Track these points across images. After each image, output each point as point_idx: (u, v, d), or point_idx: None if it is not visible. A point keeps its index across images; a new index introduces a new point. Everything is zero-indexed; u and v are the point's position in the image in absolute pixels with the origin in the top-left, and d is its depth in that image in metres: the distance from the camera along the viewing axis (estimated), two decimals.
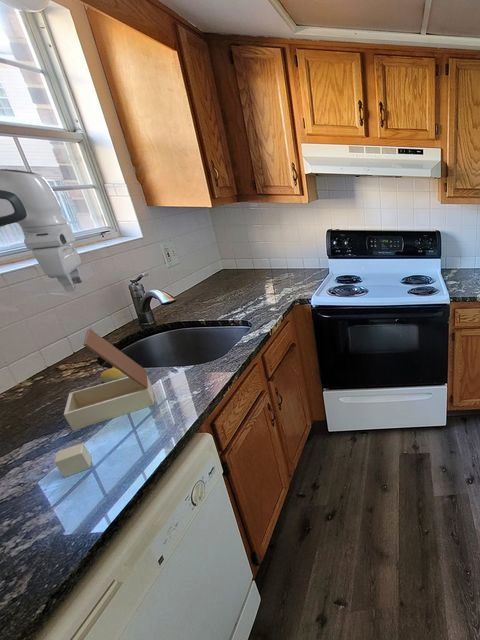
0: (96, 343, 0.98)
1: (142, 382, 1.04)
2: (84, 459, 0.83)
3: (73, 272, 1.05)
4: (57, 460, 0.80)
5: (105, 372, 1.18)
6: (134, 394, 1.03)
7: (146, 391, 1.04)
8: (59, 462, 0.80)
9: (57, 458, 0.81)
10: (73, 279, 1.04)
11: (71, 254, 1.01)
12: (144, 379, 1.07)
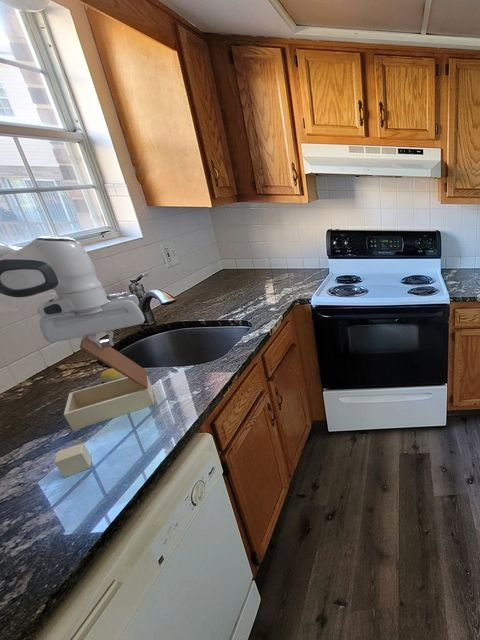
0: (93, 345, 0.98)
1: (142, 382, 1.04)
2: (84, 459, 0.83)
3: (109, 335, 1.01)
4: (57, 460, 0.80)
5: (105, 372, 1.18)
6: (134, 394, 1.03)
7: (146, 391, 1.04)
8: (59, 462, 0.80)
9: (57, 458, 0.81)
10: None
11: (106, 317, 0.98)
12: (144, 379, 1.07)
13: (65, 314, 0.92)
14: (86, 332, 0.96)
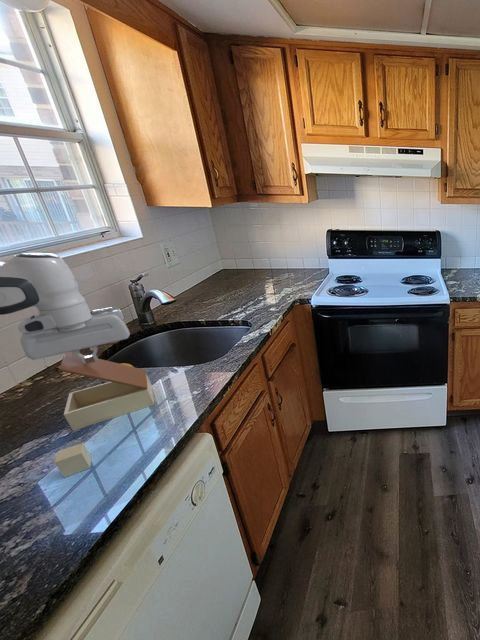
0: (75, 363, 0.97)
1: (139, 384, 1.04)
2: (84, 459, 0.83)
3: None
4: (57, 460, 0.80)
5: None
6: (134, 394, 1.03)
7: (146, 391, 1.04)
8: (59, 462, 0.80)
9: (57, 458, 0.81)
10: None
11: (89, 333, 0.97)
12: (142, 380, 1.07)
13: (47, 331, 0.91)
14: (69, 348, 0.95)
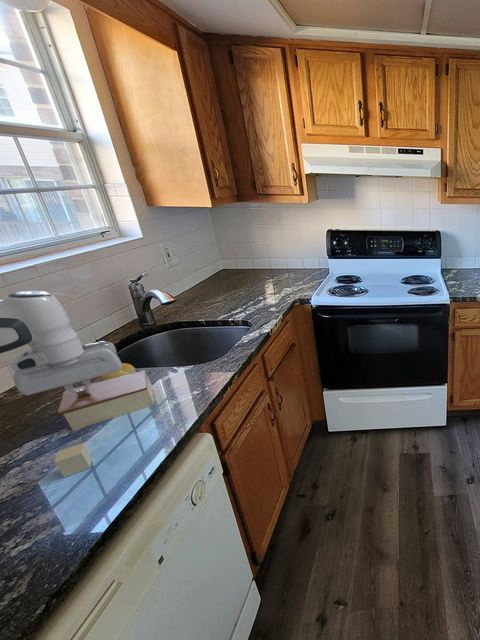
0: (73, 399, 0.99)
1: (138, 388, 1.04)
2: (84, 459, 0.83)
3: (86, 383, 1.01)
4: (57, 460, 0.80)
5: None
6: (134, 394, 1.03)
7: (146, 391, 1.04)
8: (59, 462, 0.80)
9: (57, 458, 0.81)
10: None
11: (82, 368, 0.98)
12: (141, 382, 1.07)
13: (39, 367, 0.92)
14: (61, 383, 0.96)
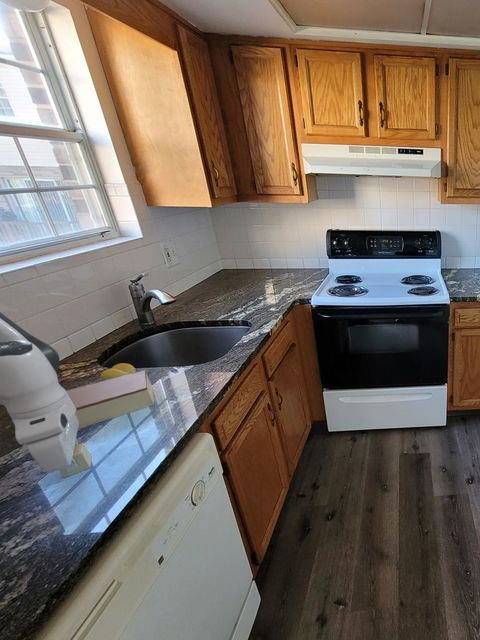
0: (73, 399, 0.99)
1: (138, 388, 1.04)
2: (84, 459, 0.83)
3: None
4: None
5: (105, 372, 1.18)
6: (134, 394, 1.03)
7: (146, 391, 1.04)
8: None
9: None
10: None
11: (69, 423, 0.83)
12: (141, 382, 1.07)
13: (65, 425, 0.77)
14: (73, 444, 0.81)
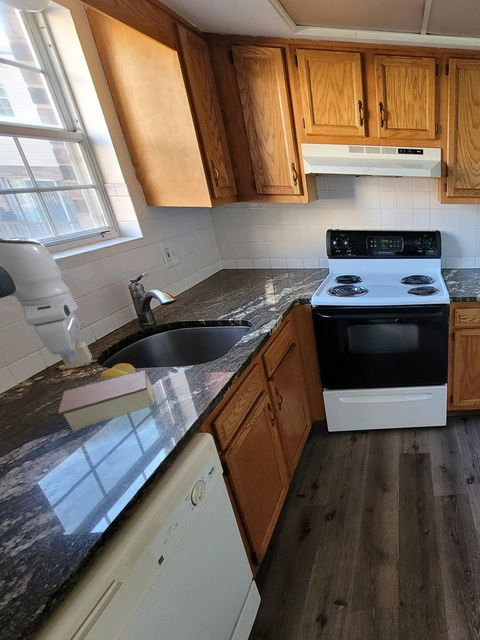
0: (73, 399, 0.99)
1: (138, 388, 1.04)
2: (85, 353, 0.93)
3: None
4: None
5: (105, 372, 1.18)
6: (134, 394, 1.03)
7: (146, 391, 1.04)
8: (63, 353, 0.90)
9: None
10: None
11: (72, 322, 0.93)
12: (141, 382, 1.07)
13: (68, 316, 0.87)
14: (75, 337, 0.91)
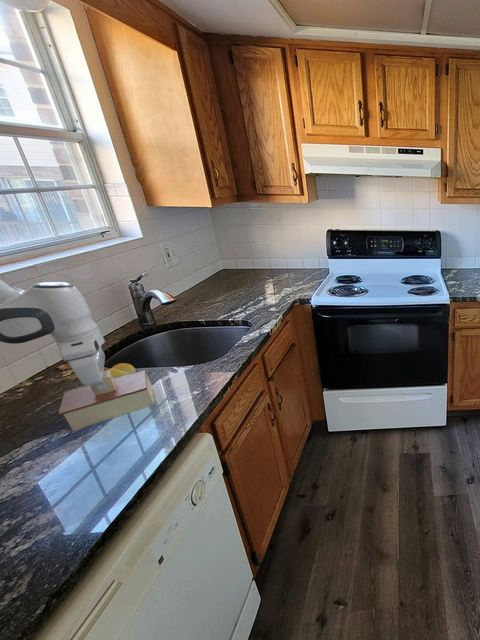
0: (73, 400, 0.99)
1: (138, 388, 1.04)
2: (111, 382, 1.02)
3: None
4: None
5: None
6: (134, 394, 1.03)
7: (146, 391, 1.04)
8: None
9: None
10: None
11: (99, 353, 1.02)
12: (141, 382, 1.07)
13: (97, 350, 0.97)
14: (102, 368, 1.00)
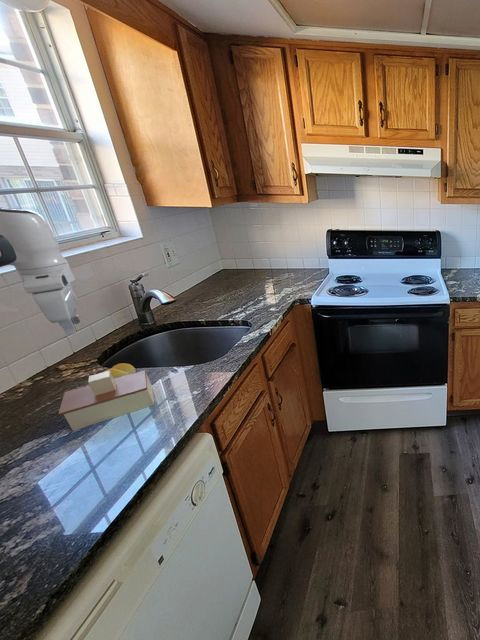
0: (73, 400, 0.99)
1: (138, 388, 1.04)
2: (111, 382, 1.02)
3: None
4: (90, 380, 1.00)
5: None
6: (134, 394, 1.03)
7: (146, 391, 1.04)
8: (91, 382, 1.00)
9: (90, 379, 1.00)
10: (71, 320, 0.98)
11: (69, 294, 0.95)
12: (141, 382, 1.07)
13: (66, 287, 0.89)
14: (72, 308, 0.93)
